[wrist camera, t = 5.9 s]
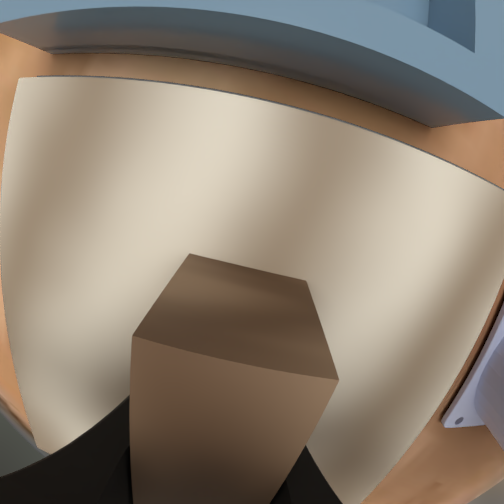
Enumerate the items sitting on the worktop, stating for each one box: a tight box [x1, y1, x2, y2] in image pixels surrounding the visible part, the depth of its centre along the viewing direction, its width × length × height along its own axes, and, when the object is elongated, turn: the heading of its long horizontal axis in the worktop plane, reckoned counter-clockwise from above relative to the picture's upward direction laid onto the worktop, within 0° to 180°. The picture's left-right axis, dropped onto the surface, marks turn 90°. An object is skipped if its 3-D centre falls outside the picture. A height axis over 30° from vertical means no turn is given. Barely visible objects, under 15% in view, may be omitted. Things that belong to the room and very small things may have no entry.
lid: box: [0, 77, 504, 504], centre depth 8 cm, size 16×16×5 cm
